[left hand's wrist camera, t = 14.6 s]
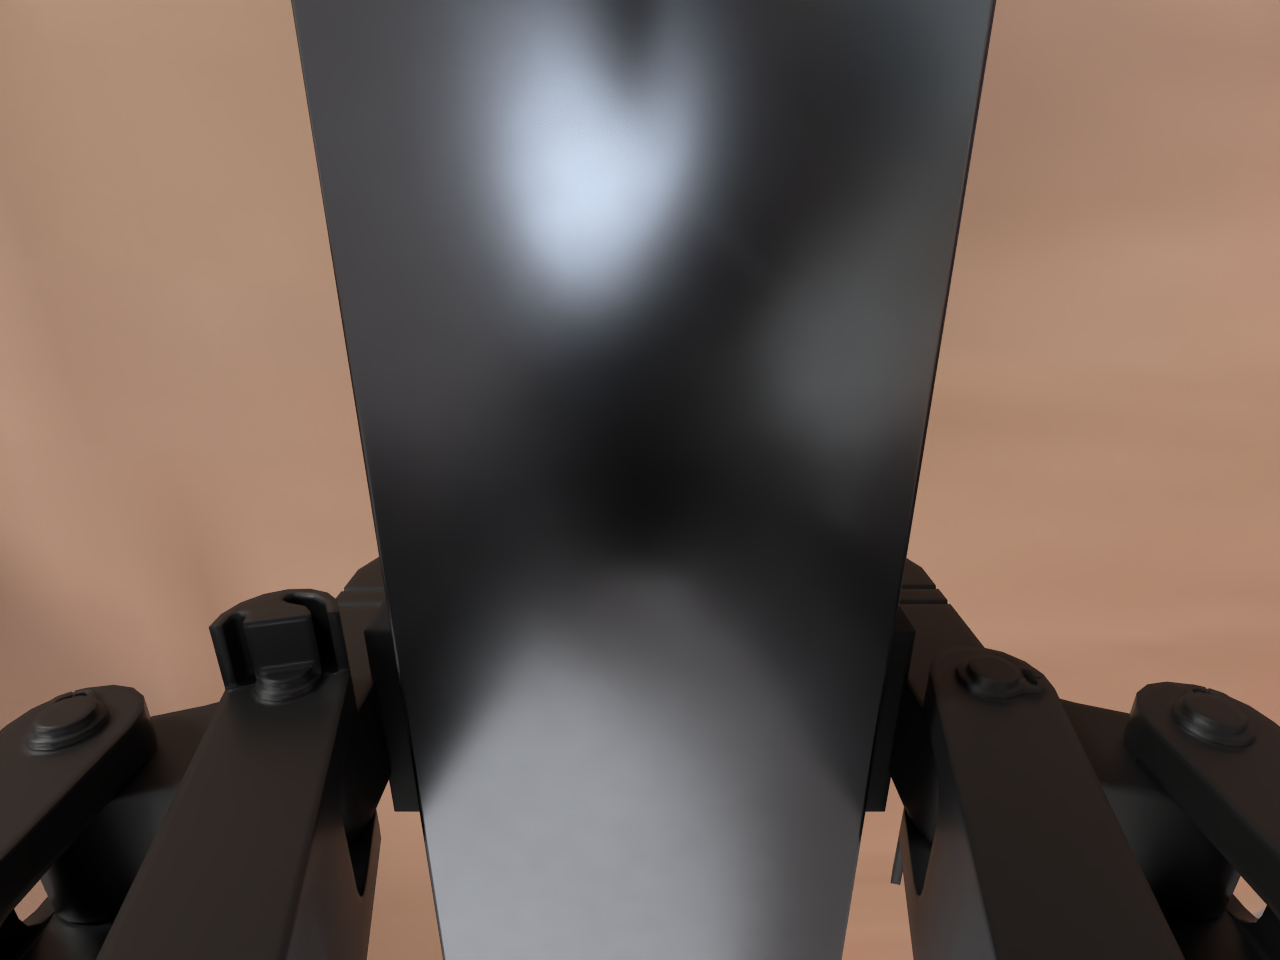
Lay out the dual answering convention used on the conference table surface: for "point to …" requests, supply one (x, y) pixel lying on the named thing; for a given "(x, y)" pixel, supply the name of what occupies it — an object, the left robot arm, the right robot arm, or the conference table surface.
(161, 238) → the conference table surface
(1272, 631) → the conference table surface
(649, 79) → the bar
